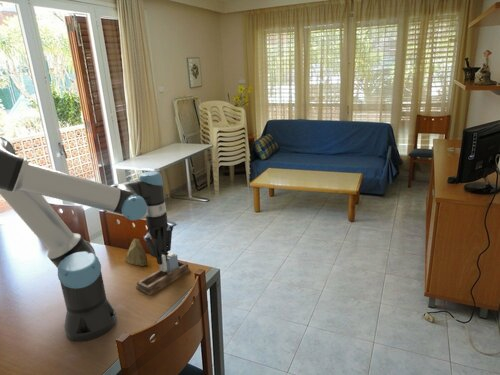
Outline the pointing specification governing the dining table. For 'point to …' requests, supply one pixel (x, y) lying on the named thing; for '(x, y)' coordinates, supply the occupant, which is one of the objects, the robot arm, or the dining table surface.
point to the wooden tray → (161, 279)
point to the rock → (136, 254)
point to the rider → (171, 262)
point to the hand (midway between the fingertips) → (163, 270)
